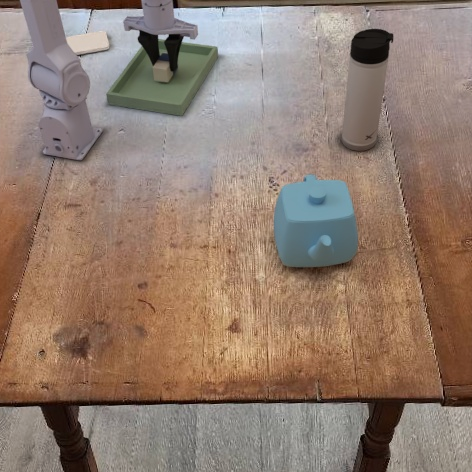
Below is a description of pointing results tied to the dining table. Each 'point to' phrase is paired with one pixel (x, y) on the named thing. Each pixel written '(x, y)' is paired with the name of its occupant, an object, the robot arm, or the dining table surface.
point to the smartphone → (88, 42)
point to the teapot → (315, 223)
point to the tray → (163, 93)
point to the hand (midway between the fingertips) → (165, 67)
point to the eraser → (163, 69)
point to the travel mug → (365, 88)
